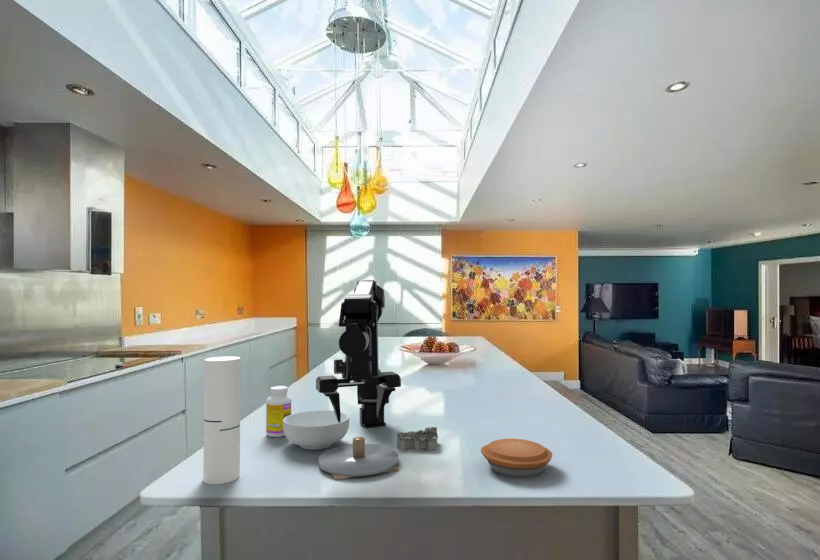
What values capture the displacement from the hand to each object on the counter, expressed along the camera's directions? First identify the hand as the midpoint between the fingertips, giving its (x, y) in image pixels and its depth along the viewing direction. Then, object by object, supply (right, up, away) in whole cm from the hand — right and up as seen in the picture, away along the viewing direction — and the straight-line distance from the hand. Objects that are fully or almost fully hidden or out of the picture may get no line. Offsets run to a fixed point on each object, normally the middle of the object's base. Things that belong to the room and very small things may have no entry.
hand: (358, 419), depth 105 cm
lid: (0, -9, 0) cm, 9 cm away
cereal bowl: (-12, -11, +13) cm, 21 cm away
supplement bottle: (-25, -11, +23) cm, 35 cm away
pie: (+35, -10, -3) cm, 37 cm away
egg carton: (+13, -11, +13) cm, 21 cm away
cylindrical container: (-28, -10, -8) cm, 31 cm away
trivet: (0, -10, 0) cm, 10 cm away
